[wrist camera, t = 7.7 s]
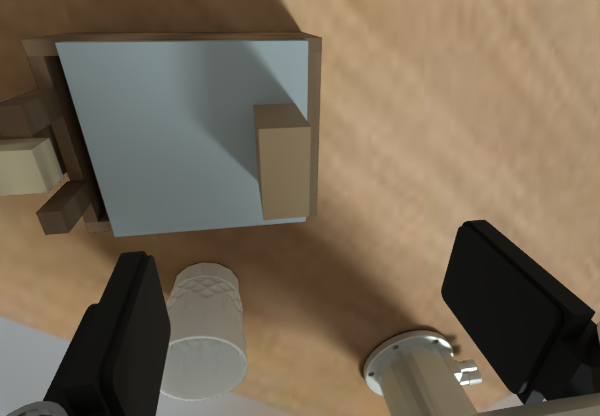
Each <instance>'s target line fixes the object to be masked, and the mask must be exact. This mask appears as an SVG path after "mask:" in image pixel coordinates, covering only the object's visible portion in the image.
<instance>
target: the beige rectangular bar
mask: <svg viewBox="0 0 600 416" xmlns="http://www.w3.org/2000/svg"><path fill="white" fill-rule="evenodd" d="M63 178H64V177H63V174H62V172H61V169H60V166H59V163H58V160H57V158H56V155H55V152H54V149H53V146H52V144H51V141H50V138H31V139H8V140H0V196H4V195H20V194H35V193H48V192H49V191H50V190H51V189H52V188H53V187H54V186H55V185H56V184H57V183H58V182H59V181H61V180H62V179H63Z"/></svg>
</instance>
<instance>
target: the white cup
mask: <svg viewBox="0 0 600 416" xmlns="http://www.w3.org/2000/svg"><path fill="white" fill-rule="evenodd" d="M166 308H167V311H168V315H169V319H170V324H171V335H170V340H169V346H168V351H167V357H166V362H165V367H164V373H163V378H162V383H161V389H160V393H162V394H164V395H166V396H169V397H171V398H175V399H179V400H188V401H199V400H207V399H212V398H215V397H219V396H221V395H224V394H226V393H228V392H229V391H231V390H233V389H234V388H235V387H237V386H238V385H239V384H240V383H241V382H242V380H243V379H244V377H245V375H246V373H247V369H248V361H247V350H246V339H245V328H244V317H243V309H242V301H241V299H240V291H239V283H238V279H237V277H236V276H235V275H234V274H233V272H232V271H231V270H230V269H228V268H226V267H224V266H222V265H220V264H217V263H204V262H202V263H198V264H195V265H192V266H188V267H187V268H186V269H184V270H183V271H182V272H181V273H179V274H178V275H177V277H176V280H175V282H174V285H173V287H172V291H171V294H170V297H169V298H168V300H167V303H166Z"/></svg>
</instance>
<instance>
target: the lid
mask: <svg viewBox="0 0 600 416" xmlns="http://www.w3.org/2000/svg"><path fill="white" fill-rule="evenodd" d="M55 44H56V48H57V51H58V54H59V57H60V61H61V64H62V67H63V70H64V74H65V77H66V80H67V83H68V87H69V90H70V93H71V96H72V100H73V103H74V106H75V109H76V113H77V116H78V119H79V122H80V126H81V129H82V132H83V135H84V139H85V142H86V145H87V149H88V152H89V155H90V158H91V162H92V165H93V168H94V171H95V175H96V178H97V181H98V184H99V188H100V191H101V194H102V197H103V201H104V204H105V207H106V210H107V214H108V217H109V220H110V223H111V227H112V230H113V233H114V236H115V237H124V236H136V235H148V234H160V233H172V232H184V231H196V230H208V229H220V228H233V227H245V226H257V225H269V224H281V223H293V222H305V221H306V217H309V196H310V144H311V126H310V125H309V123H308V122H307V97H308V41H307V40H193V41H63V42H57V43H55Z"/></svg>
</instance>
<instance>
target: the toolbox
mask: <svg viewBox="0 0 600 416" xmlns="http://www.w3.org/2000/svg"><path fill="white" fill-rule="evenodd" d="M193 40H307V41H308V97H307V122H308V123H309V125H310V126H311V144H310V196H309V215H316V214H317V182H318V150H319V118H320V85H321V53H322V38H321V37H318V36H314V35H311V34H307V33H304V32H160V33H69V34H61V35H53V36H45V37H37V38H29V39H22V40H21V41H22V44H23V46H24V49H25V52H26V55H27V58H28V61H29V64H30V67H31V69H32V72H33V75H34V78H35V81H36V84H37V87H38V90H32V91H30V92H27V93H24V94H22V95H19V96H17V97H14V98H11V99H9V100H6V101H4V102H1V103H0V140H8V139H31V138H50V141H51V144H52V146H53V149H54V152H55V155H56V158H57V160H58V163H59V166H60V169H61V172H62V174H63V175H64V174H65V173H66V172H67V173H68V176H69V178H70V181H68V182H66V183H65V184H64V185H63V186H62V187H61V188H60V189H59V190H58V191H57V192H56V193H55V194H54V195H53V196H52V197H51V198H50V199H49V200H48V201H47V202H46V203H45V204H44V205H43V206H42V207H41V208H40V209H39V210H38V211H37V212H36V214H37V216H38V218H39V221H40V223H41V225H42V228H43V230H44V233H45V235H48V234H61V233H69V232H70V231H71V229H72V228H73V227H74V225H75V224H76V223H77V221H78V220H79V219H80V217H81V216H83V219H84V221H85V224H86V227H87V230H88V233H94V232H106V231H113V230H112V227H111V223H110V220H109V217H108V214H107V210H106V207H105V204H104V201H103V197H102V194H101V191H100V188H99V184H98V181H97V178H96V175H95V171H94V168H93V165H92V162H91V158H90V155H89V152H88V149H87V145H86V142H85V139H84V135H83V132H82V129H81V126H80V122H79V119H78V116H77V113H76V109H75V106H74V103H73V100H72V96H71V93H70V90H69V87H68V83H67V80H66V77H65V74H64V70H63V67H62V64H61V61H60V57H59V54H58V51H57V48H56V44H55V43H57V42H63V41H193Z"/></svg>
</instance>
